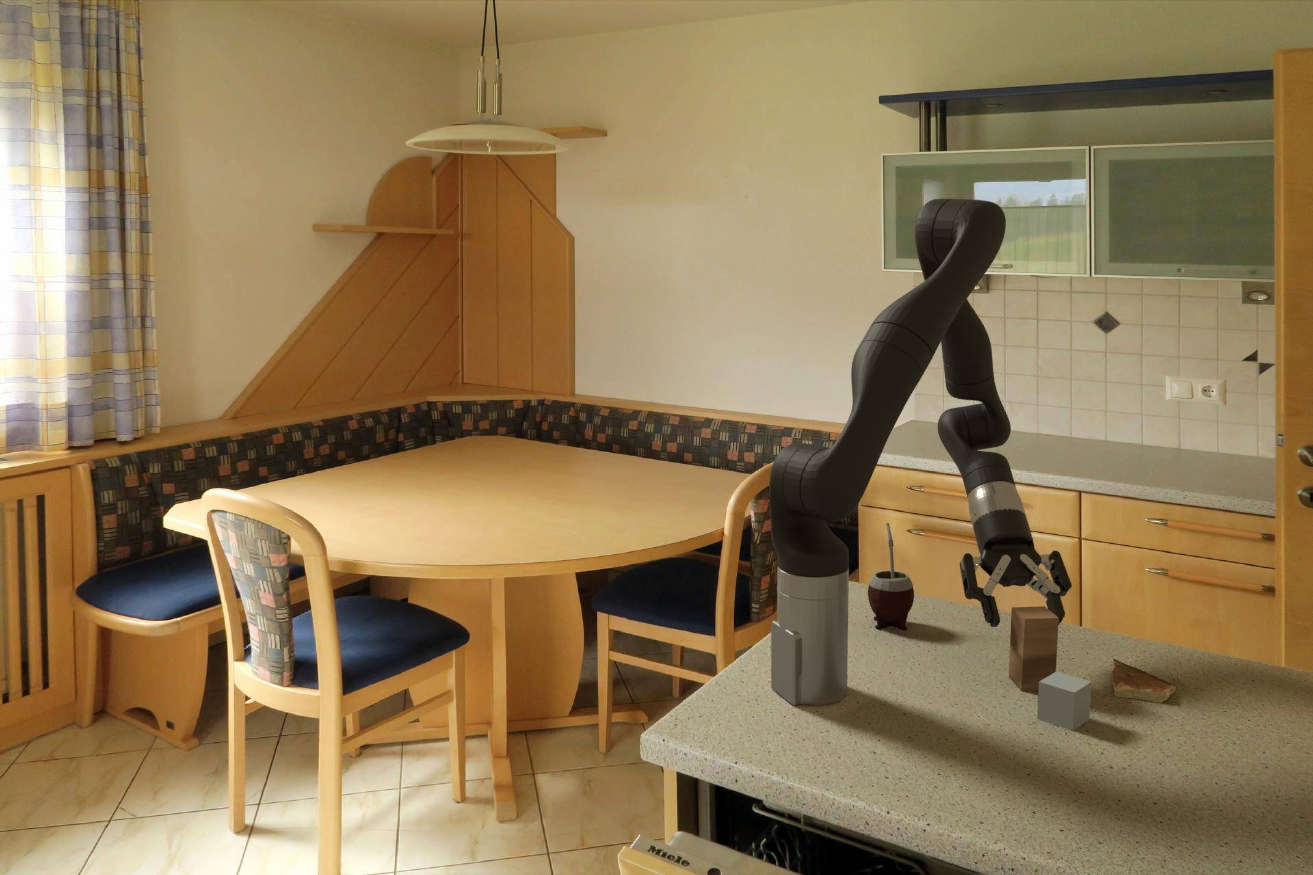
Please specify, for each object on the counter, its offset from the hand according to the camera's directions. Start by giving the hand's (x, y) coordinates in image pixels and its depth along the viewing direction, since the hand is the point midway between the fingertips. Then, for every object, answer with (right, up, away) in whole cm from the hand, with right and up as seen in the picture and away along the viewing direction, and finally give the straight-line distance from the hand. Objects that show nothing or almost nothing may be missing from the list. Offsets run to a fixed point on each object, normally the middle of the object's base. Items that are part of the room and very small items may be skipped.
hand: (1027, 623), depth 139 cm
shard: (+13, -9, -2) cm, 15 cm away
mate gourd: (-14, -4, +22) cm, 26 cm away
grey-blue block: (0, -10, -12) cm, 15 cm away
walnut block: (0, -8, -1) cm, 8 cm away
